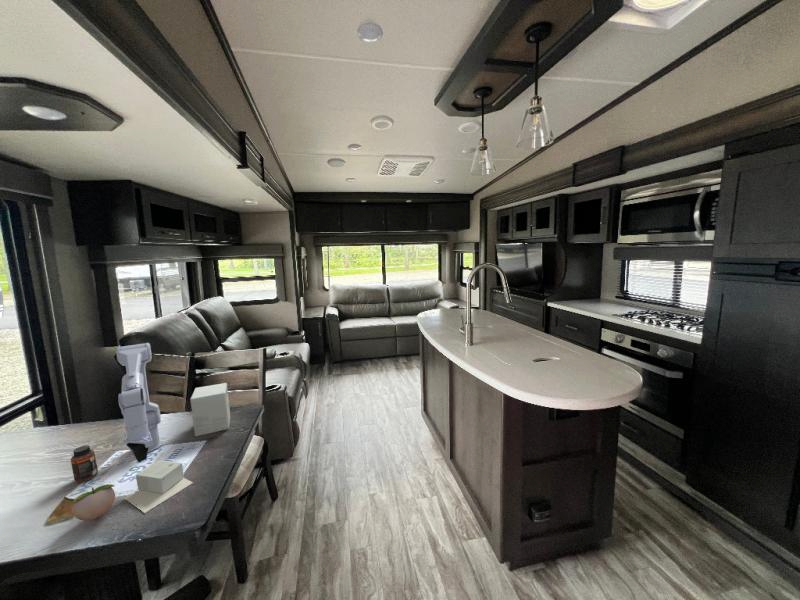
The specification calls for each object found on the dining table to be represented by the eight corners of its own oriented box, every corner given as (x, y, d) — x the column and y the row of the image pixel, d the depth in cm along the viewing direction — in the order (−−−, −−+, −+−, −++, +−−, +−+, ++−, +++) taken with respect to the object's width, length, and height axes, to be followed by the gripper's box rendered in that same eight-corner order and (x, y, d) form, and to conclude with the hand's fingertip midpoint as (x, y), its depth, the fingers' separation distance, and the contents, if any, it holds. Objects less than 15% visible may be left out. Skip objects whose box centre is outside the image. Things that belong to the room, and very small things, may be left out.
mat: (124, 499, 99) (124, 498, 99) (172, 472, 112) (171, 471, 112) (144, 513, 94) (144, 512, 94) (193, 483, 106) (192, 482, 106)
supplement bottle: (102, 473, 112) (97, 444, 110) (81, 485, 106) (75, 455, 105) (92, 470, 114) (87, 441, 112) (70, 481, 108) (65, 451, 106)
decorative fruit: (81, 536, 86) (75, 504, 85) (71, 524, 90) (65, 493, 89) (124, 511, 94) (119, 482, 93) (112, 501, 98) (108, 473, 97)
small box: (137, 490, 103) (162, 494, 101) (134, 474, 102) (160, 479, 100) (160, 473, 111) (184, 477, 108) (158, 459, 110) (182, 462, 108)
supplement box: (231, 415, 151) (227, 382, 149) (229, 429, 139) (225, 392, 137) (199, 422, 146) (194, 387, 143) (194, 437, 134) (189, 399, 131)
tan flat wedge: (65, 500, 100) (64, 495, 100) (96, 492, 103) (95, 487, 103) (45, 526, 90) (44, 521, 90) (80, 516, 94) (79, 511, 93)
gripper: (111, 424, 104) (117, 461, 106) (132, 434, 97) (138, 473, 99) (136, 414, 110) (141, 449, 112) (158, 423, 103) (163, 460, 105)
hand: (142, 460), depth 106 cm, fingers closed
